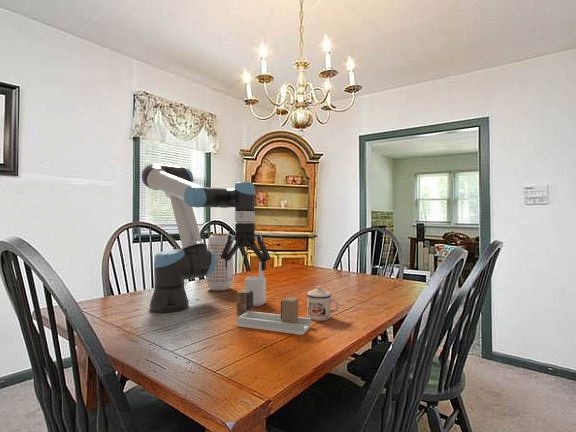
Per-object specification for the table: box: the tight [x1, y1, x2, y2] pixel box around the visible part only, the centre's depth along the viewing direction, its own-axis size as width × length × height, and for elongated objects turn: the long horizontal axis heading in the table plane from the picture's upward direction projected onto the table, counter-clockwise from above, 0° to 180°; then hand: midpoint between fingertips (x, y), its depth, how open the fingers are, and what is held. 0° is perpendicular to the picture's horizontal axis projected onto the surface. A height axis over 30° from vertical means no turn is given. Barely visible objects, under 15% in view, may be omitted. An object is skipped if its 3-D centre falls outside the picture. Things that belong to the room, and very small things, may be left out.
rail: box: [236, 296, 312, 336], centre depth 123 cm, size 24×9×10 cm, turn 69°
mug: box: [244, 275, 267, 307], centre depth 154 cm, size 12×9×11 cm
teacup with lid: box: [306, 285, 340, 322], centre depth 133 cm, size 12×9×12 cm
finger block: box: [236, 288, 254, 317], centre depth 137 cm, size 5×5×9 cm
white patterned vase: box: [205, 232, 234, 292], centre depth 180 cm, size 13×13×28 cm
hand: (245, 278), depth 137 cm, fingers open, 13 cm apart
